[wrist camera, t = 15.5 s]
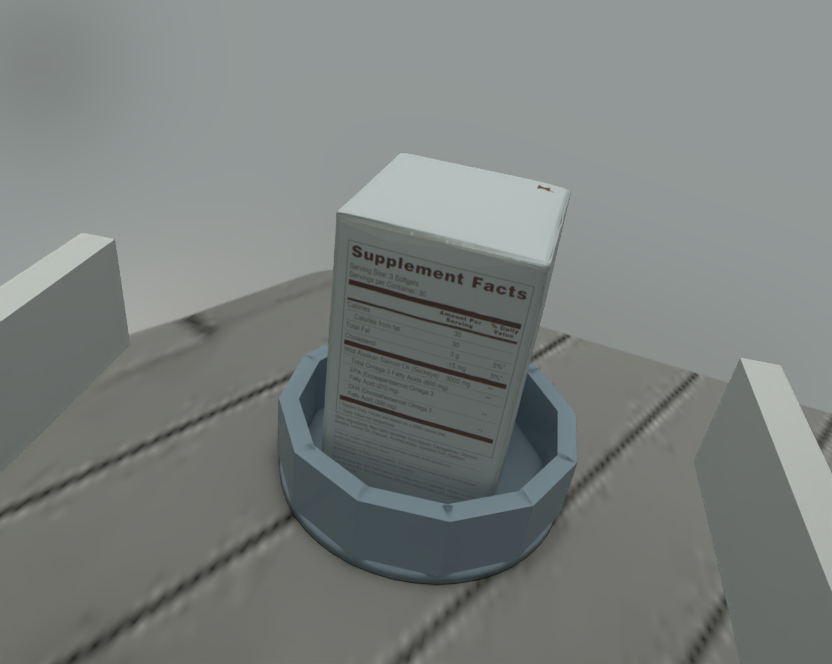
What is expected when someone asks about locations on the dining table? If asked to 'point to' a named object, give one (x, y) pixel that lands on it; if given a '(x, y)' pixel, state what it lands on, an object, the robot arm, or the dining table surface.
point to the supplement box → (435, 324)
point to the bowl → (419, 518)
